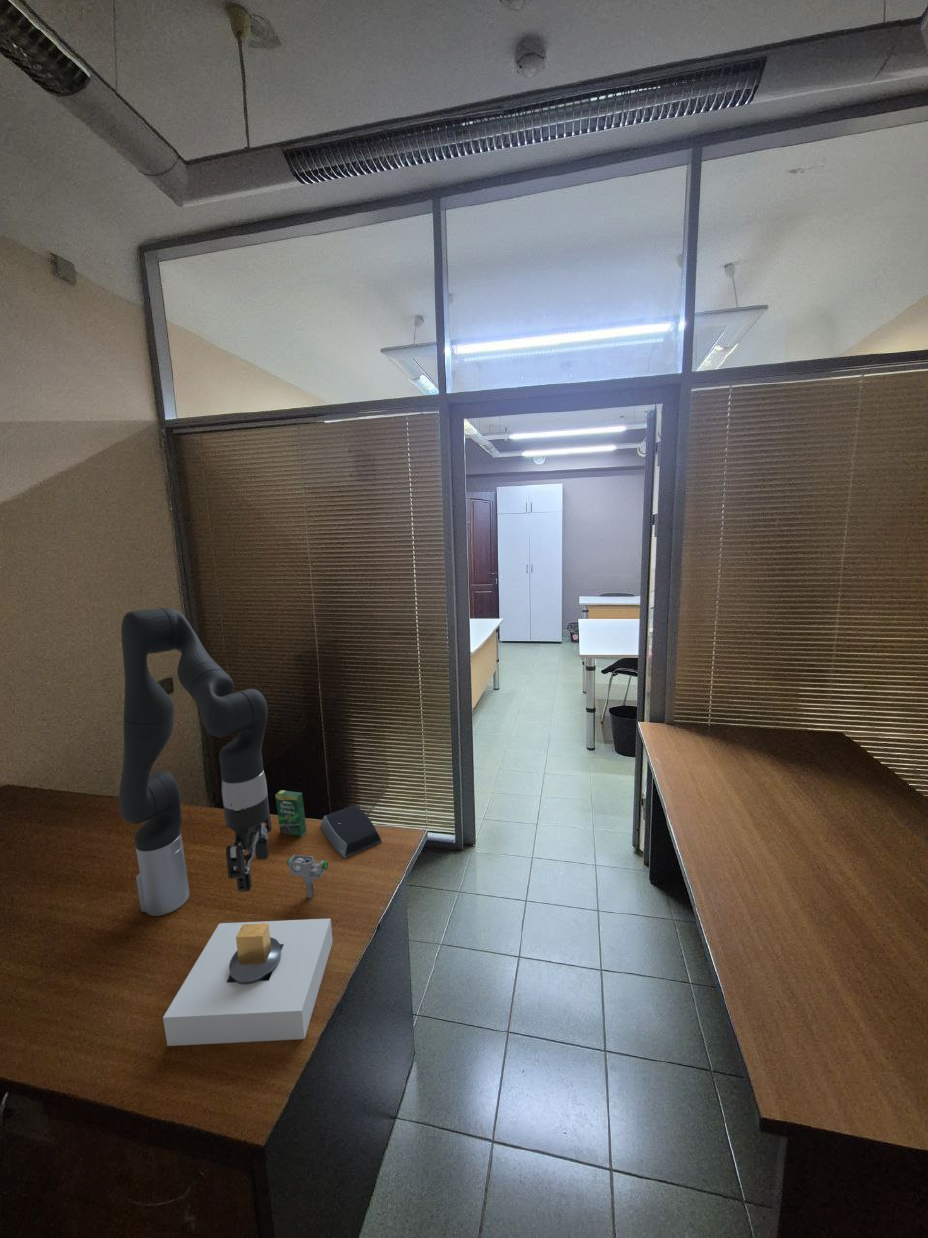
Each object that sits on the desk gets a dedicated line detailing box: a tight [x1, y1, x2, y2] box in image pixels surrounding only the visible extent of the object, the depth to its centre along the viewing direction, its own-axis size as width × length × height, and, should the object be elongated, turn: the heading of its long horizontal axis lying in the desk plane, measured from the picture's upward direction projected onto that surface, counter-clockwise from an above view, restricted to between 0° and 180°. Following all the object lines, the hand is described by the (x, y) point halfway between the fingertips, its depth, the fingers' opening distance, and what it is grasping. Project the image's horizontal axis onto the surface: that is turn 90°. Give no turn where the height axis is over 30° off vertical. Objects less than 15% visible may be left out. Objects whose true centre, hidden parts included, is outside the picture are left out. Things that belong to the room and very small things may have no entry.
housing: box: [162, 918, 333, 1047], centre depth 91 cm, size 24×20×6 cm
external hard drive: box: [320, 804, 383, 859], centre depth 139 cm, size 13×19×4 cm
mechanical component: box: [286, 854, 329, 899], centre depth 114 cm, size 3×10×10 cm, turn 78°
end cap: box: [229, 923, 281, 984], centre depth 90 cm, size 9×9×12 cm
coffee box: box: [275, 789, 307, 837], centre depth 139 cm, size 8×3×13 cm, turn 73°
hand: (254, 873), depth 89 cm, fingers open, 8 cm apart
